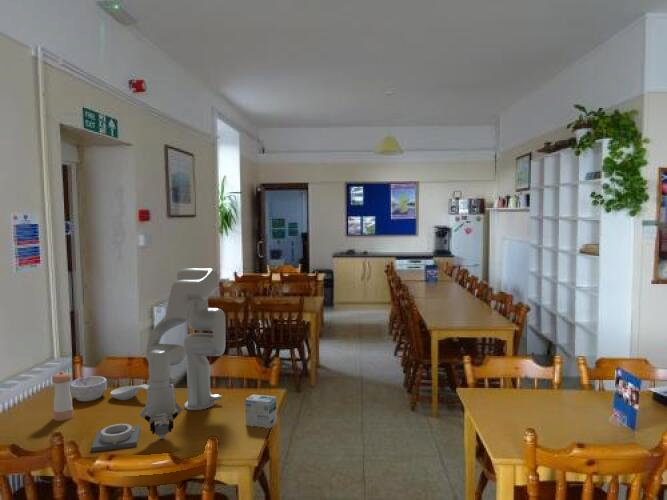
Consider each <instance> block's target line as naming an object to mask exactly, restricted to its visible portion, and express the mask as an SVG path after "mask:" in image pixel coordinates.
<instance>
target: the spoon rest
mask: <svg viewBox="0 0 667 500" xmlns="http://www.w3.org/2000/svg"><path fill="white" fill-rule="evenodd" d="M149 386H150V385H149V384H145V383H144V384H140V385H127V386H126V385H125V386H122V387H121V386H120V387H118V388H115V389H113V390H111V391H110V393H109V394H110V396H111V397H112V398H113V399H115V400H120V401H127V400H130V399H132V398H133V397H134V396H136V395H137V394H138V392H139V391H140V390H142V389H143V390H145V391H147V389H148V387H149Z"/></svg>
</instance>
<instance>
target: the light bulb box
mask: <svg viewBox="0 0 667 500" xmlns="http://www.w3.org/2000/svg"><path fill="white" fill-rule="evenodd" d="M244 405H245V406H244V407H245V426H246V425H253V426H260V427H265V428H264V429H268V428H269V430H270V429H271V428H272V427H274V426H275V425H276V424H277V423H278V416H277V415H278V411H277V409H278V407H277V396H276V395H275V396H272V395H264V394H263V395H262V394H260V395H259V394H254V393H253V394H251V395H250V396H249V397H248V396H247V398H245V403H244ZM253 426H252V427H253ZM260 427H259V428H260Z"/></svg>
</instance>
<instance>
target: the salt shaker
mask: <svg viewBox="0 0 667 500" xmlns="http://www.w3.org/2000/svg"><path fill="white" fill-rule="evenodd" d="M71 380H72V375H71V374H70V373H69V372H64V371H62V370H61V371H59V373H56V374H54V375H53V376H52V378H51V381H52V383H53V384H54V396H53V397H54V398H53V407H54V408H53V412H52V413H53V415H52V416H53V420H54V421H56V422H57V421H58V422H62V421H68V420H70V419H72V418H73V417H74V407H73V398H72V397H73V396H71V393H70V383H71V382H70V381H71Z"/></svg>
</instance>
